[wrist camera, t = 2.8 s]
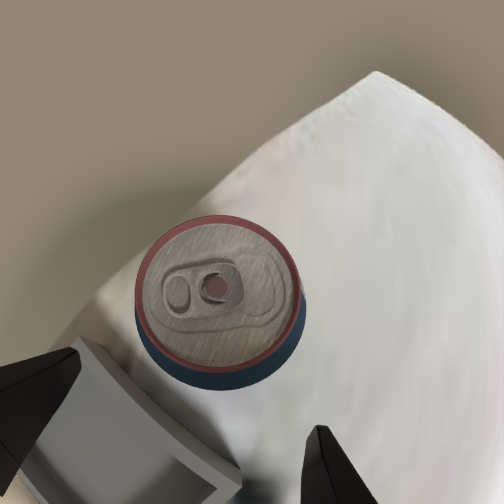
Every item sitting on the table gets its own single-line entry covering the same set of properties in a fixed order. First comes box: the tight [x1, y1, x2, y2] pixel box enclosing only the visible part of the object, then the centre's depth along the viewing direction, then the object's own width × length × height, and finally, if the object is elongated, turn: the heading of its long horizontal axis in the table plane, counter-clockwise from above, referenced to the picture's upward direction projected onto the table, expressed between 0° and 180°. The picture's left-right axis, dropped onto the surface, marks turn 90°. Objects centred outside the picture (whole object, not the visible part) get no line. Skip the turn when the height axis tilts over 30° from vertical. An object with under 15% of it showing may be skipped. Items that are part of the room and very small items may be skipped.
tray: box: [16, 336, 242, 504], centre depth 12 cm, size 14×14×4 cm
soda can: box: [135, 215, 306, 391], centre depth 14 cm, size 7×7×12 cm
